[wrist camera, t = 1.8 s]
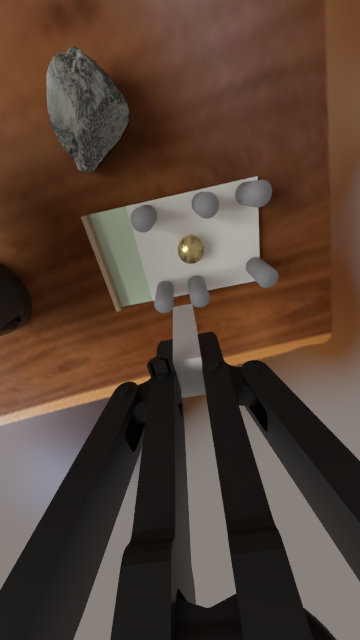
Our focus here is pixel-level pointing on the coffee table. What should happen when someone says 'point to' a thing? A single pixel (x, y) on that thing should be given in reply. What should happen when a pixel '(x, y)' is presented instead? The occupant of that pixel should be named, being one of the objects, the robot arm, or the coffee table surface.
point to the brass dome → (190, 249)
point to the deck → (163, 238)
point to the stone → (84, 108)
